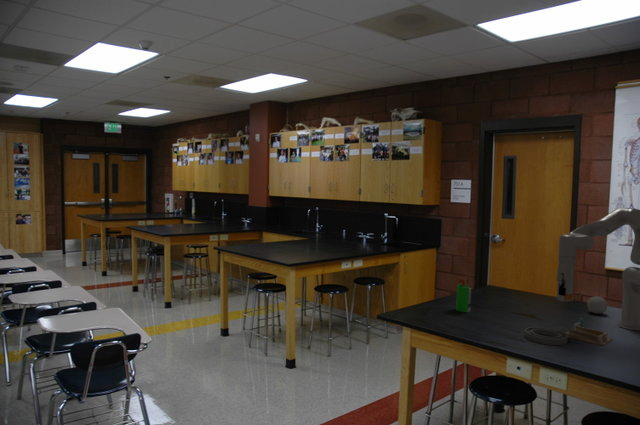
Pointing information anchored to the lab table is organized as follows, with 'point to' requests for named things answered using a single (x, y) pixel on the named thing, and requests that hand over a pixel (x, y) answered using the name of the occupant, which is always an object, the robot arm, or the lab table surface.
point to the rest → (589, 335)
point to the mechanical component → (537, 333)
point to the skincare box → (568, 291)
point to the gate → (578, 324)
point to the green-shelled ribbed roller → (463, 297)
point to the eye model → (597, 305)
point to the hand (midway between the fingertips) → (565, 293)
